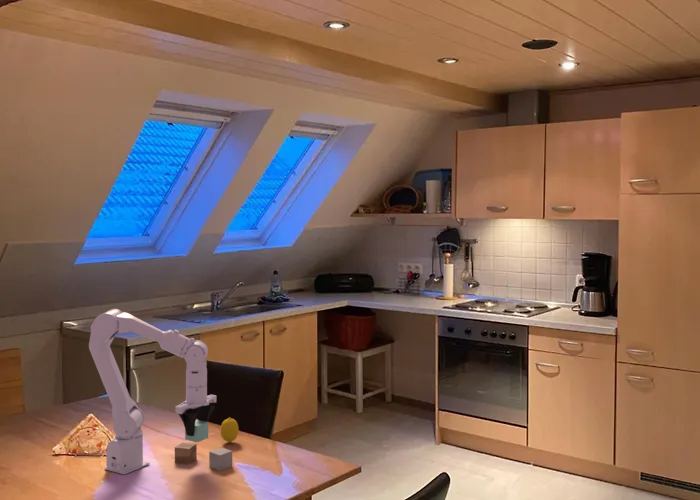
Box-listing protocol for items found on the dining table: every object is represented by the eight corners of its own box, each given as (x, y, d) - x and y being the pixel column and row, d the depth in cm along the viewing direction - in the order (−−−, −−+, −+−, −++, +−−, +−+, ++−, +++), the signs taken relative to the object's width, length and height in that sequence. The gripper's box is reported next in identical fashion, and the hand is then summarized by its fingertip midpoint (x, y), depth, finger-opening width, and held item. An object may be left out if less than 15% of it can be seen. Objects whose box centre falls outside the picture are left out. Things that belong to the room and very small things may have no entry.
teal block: (197, 442, 192) (197, 426, 192) (185, 439, 194) (185, 423, 194) (208, 437, 196) (208, 422, 196) (196, 435, 198) (196, 419, 198)
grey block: (219, 471, 192) (219, 455, 192) (209, 467, 195) (209, 451, 194) (232, 466, 195) (232, 451, 195) (222, 463, 198) (221, 447, 198)
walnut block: (189, 464, 197) (189, 448, 197) (174, 462, 198) (174, 447, 198) (196, 459, 201) (196, 443, 201) (182, 457, 202) (182, 442, 202)
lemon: (234, 446, 212) (234, 420, 211) (217, 445, 213) (217, 419, 213) (241, 440, 217) (241, 415, 217) (224, 439, 218) (224, 414, 218)
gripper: (188, 392, 186) (189, 442, 187) (224, 381, 199) (224, 428, 199) (169, 389, 190) (169, 438, 190) (205, 378, 202) (205, 424, 203)
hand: (196, 433), depth 195 cm, fingers closed on teal block, 4 cm apart
